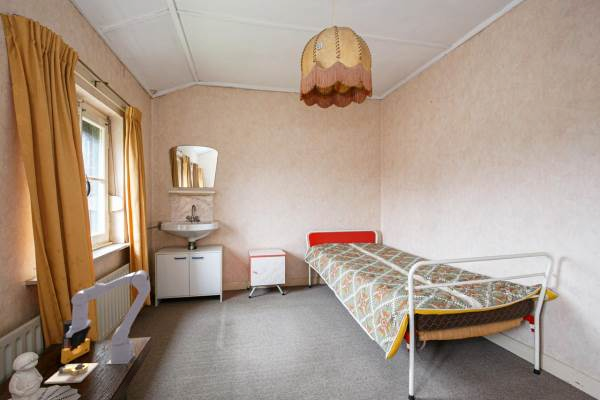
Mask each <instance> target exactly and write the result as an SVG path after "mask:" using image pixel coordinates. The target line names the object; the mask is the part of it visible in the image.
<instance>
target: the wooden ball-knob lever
mask: <svg viewBox="0 0 600 400" xmlns="http://www.w3.org/2000/svg"><path fill="white" fill-rule="evenodd" d="M82 364H83V368H82V369H79V370H77V365H76V366H74V367H64V366H61V367H59V369H58V371H59V373H65V372H71V374H72V375H78V374H81V373H84V372H85V371H86V370H88V364H87V363H82Z"/></svg>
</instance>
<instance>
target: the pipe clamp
mask: <svg viewBox="0 0 600 400" xmlns="http://www.w3.org/2000/svg"><path fill="white" fill-rule="evenodd" d="M90 344H91V338H88V337H86V339H85V342H84V343H80V345H78V348H77V349H74V350H73V351H70V349H69V348H65V349H63V350H62V349H61V357H60V359H61V360H60V363H61V364H63V365H67V364H69V363H70V362H72V361H73V360H75V359H77V358H79V357H81V356H83V355H85V354H87V353H88V352H90V347H91V346H90Z"/></svg>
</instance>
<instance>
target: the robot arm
mask: <svg viewBox="0 0 600 400" xmlns="http://www.w3.org/2000/svg"><path fill="white" fill-rule="evenodd" d="M123 285H128V286H131V285H132V286H133V287H134V288H135V289H137V291H138V294H137V295H136V298H135V299H134V301H133V303H132V305H131V306H130V308H129V310H128V311H127V314H126V315H125V317H124V319H123V321H122V323H121V324H120V325H119V326H118V327H116V329H115V331H114V333H113V335H112V336H111V338H110V341H111V348H110V349H111V352H110V359H109V360H108V361H107V362H106V365H125V364H126V365H127V364H129V362H130V361H131V360H132V359H133V358H134V357H135V356H136V355H135V348H136V345H135V341H134V340H130V337H129V336H128V335H129V334H130V331H131V327H132V325H133V323H134V322H135V319H136V318H137V315H138V314H139V313H140V311H141V308H142V307H143V305H144V303H145V302H146V299H147V297H148V296H149V295H150V292H151V282H150V275H149V274H148V272H147V271H146V270H143V269H142V270H138V271H134V272H130V273H129V274H126V275H123V276H122V277H119V278H116V279H114V280H112V281H110V282H107V283H101V282H100V283H99V282H97V283H95V284H94V285H93V286H90V287H88V288H84V289H82V290H79V291H77V292H76V294H74V295H73V296H72V298H71V304H72V312H71V313H72V315H71V316H72V317H71V320H72V326H70V327H69V329H70V330H69V331H68V332H67V333H66V337H67V338H68V340H69V341H70V344H71V347H72V349H77V348H78V346H79V344H81V343H84V342H85V339H86V338H87V336H88V334H89V331H90V330H91V328H92V326H91V324H92V319H88V315H89V313H88V312H89V301H92V300H94V299H97V298H99V297H101V296H104V295H106V294H107V292H108V291H110V290H112V289H114V288H118V287H120V286H123Z"/></svg>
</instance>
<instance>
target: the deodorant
mask: <svg viewBox="0 0 600 400" xmlns="http://www.w3.org/2000/svg"><path fill="white" fill-rule="evenodd" d="M70 326H72V319H68V320H66V321H63V326H62V340H61V341H62V342H61V351H62V350H63V349H65V348H69V349H70V351H73V350H74V349H72V347H71V344H70V341H69V340H68V338H67V337H66V333H67V332H68V331H69V330H70V329H69V327H70Z"/></svg>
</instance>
